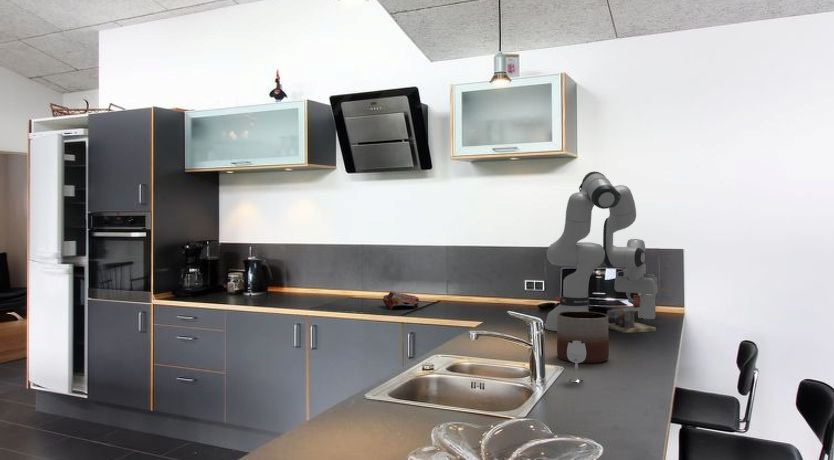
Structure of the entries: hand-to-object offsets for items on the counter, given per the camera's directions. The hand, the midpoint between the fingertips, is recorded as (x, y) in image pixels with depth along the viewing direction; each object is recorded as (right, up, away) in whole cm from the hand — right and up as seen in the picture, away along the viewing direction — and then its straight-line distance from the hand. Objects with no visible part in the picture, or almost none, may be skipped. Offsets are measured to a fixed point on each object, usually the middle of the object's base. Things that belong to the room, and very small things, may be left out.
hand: (635, 302), depth 287 cm
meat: (-112, -10, +55) cm, 125 cm away
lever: (-8, -5, -7) cm, 11 cm away
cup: (+12, -10, +18) cm, 24 cm away
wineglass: (-55, -12, -101) cm, 116 cm away
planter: (-45, -12, -71) cm, 84 cm away
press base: (-7, -10, -13) cm, 18 cm away
